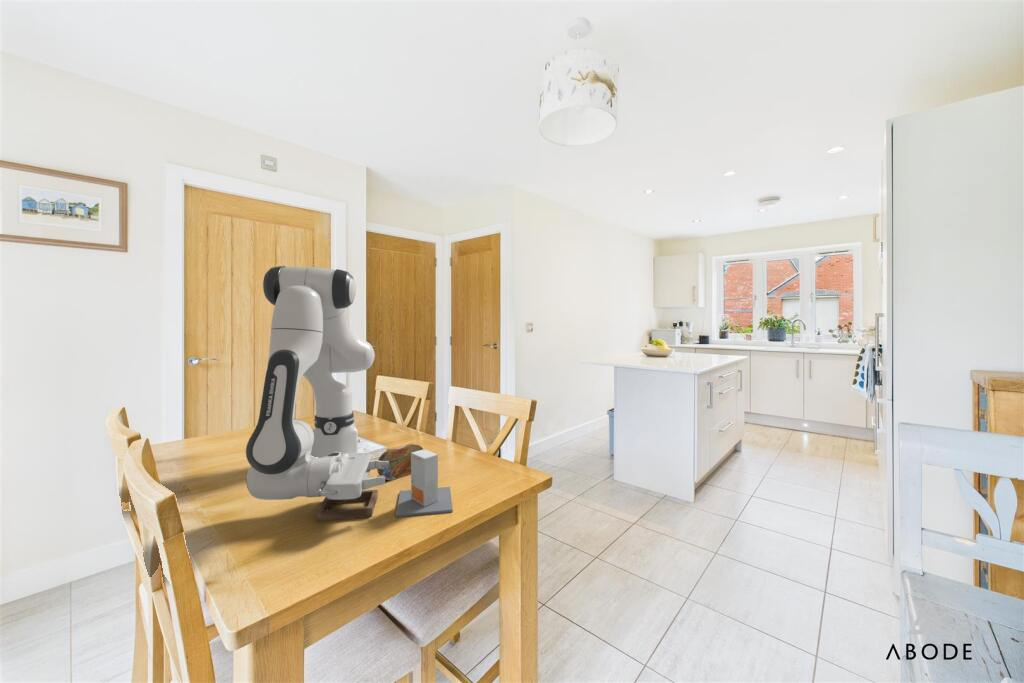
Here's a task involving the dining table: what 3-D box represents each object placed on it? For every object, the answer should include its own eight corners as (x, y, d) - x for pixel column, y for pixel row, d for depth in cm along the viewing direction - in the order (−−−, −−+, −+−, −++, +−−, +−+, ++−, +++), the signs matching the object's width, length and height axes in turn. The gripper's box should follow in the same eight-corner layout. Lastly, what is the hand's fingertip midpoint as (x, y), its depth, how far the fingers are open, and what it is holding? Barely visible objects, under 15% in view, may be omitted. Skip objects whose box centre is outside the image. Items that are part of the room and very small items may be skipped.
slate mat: (400, 493, 103) (400, 490, 103) (449, 489, 106) (449, 486, 106) (395, 517, 90) (395, 514, 90) (452, 512, 93) (452, 509, 93)
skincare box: (410, 499, 98) (410, 452, 98) (424, 493, 101) (424, 448, 101) (424, 507, 94) (424, 458, 94) (438, 501, 97) (438, 454, 97)
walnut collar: (327, 501, 98) (327, 493, 98) (377, 497, 101) (377, 489, 100) (316, 521, 88) (315, 512, 88) (371, 516, 91) (371, 508, 91)
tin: (381, 484, 109) (381, 454, 108) (375, 481, 111) (375, 452, 110) (425, 469, 120) (425, 442, 120) (419, 466, 122) (419, 440, 122)
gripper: (313, 481, 83) (381, 476, 86) (335, 449, 103) (390, 446, 106) (314, 510, 83) (382, 504, 86) (336, 473, 103) (390, 469, 106)
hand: (386, 472), depth 96 cm, fingers open, 8 cm apart
